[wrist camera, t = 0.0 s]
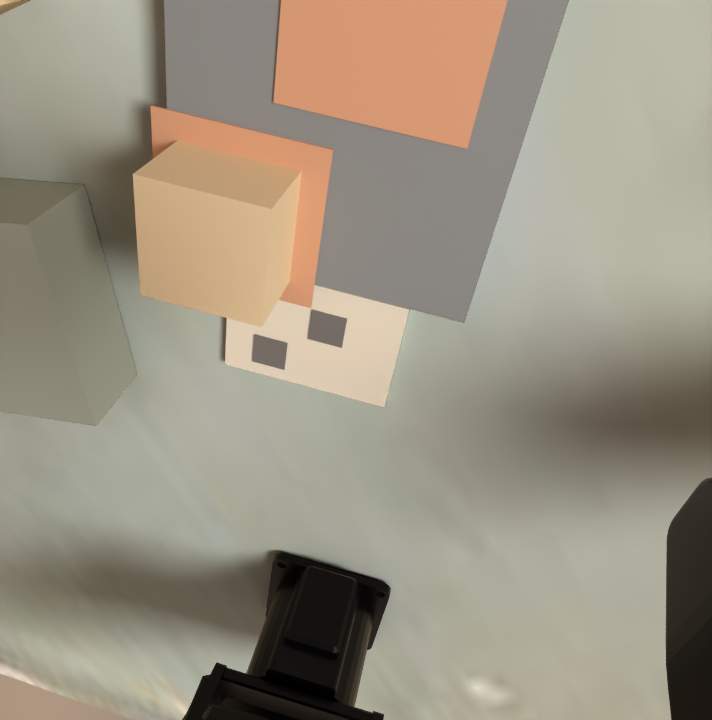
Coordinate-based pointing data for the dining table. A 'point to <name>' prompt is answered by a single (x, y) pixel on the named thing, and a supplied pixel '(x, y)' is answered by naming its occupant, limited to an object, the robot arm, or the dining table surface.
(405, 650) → the dining table surface
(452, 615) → the dining table surface
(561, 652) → the dining table surface
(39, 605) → the dining table surface
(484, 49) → the board
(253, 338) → the card
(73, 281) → the cover
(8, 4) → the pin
